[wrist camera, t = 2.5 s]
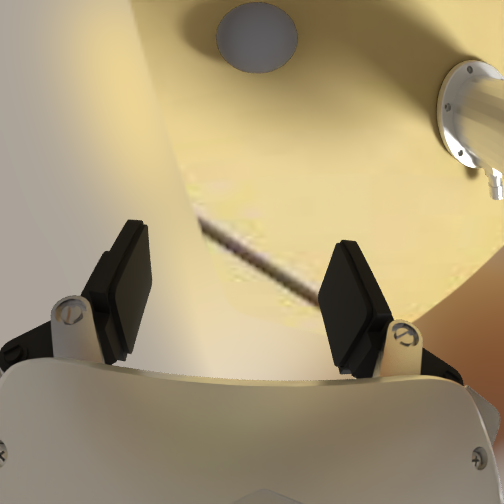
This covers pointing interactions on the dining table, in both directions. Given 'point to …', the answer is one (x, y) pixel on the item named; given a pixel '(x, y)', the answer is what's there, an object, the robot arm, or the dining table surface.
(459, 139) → the robot arm
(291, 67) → the dining table surface
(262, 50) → the grey ball
